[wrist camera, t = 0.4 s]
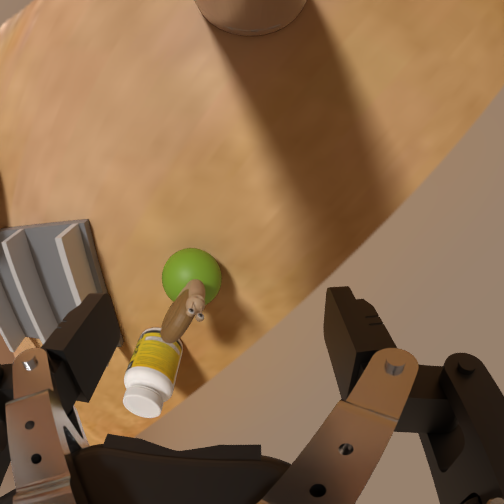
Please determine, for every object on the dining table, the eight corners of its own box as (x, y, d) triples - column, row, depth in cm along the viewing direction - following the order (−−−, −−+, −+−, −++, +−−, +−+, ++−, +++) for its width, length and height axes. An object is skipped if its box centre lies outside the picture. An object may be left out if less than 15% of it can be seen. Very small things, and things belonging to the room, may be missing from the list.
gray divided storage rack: (-18, 231, 29) (-40, 246, 25) (88, 219, 29) (67, 237, 25) (21, 331, 36) (7, 350, 32) (123, 341, 36) (112, 367, 32)
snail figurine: (240, 249, 30) (234, 334, 19) (206, 295, 33) (188, 384, 22) (190, 219, 29) (157, 292, 18) (160, 269, 31) (122, 352, 20)
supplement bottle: (139, 321, 34) (112, 385, 26) (184, 330, 35) (168, 397, 26) (140, 353, 37) (119, 415, 28) (182, 362, 37) (169, 426, 28)
